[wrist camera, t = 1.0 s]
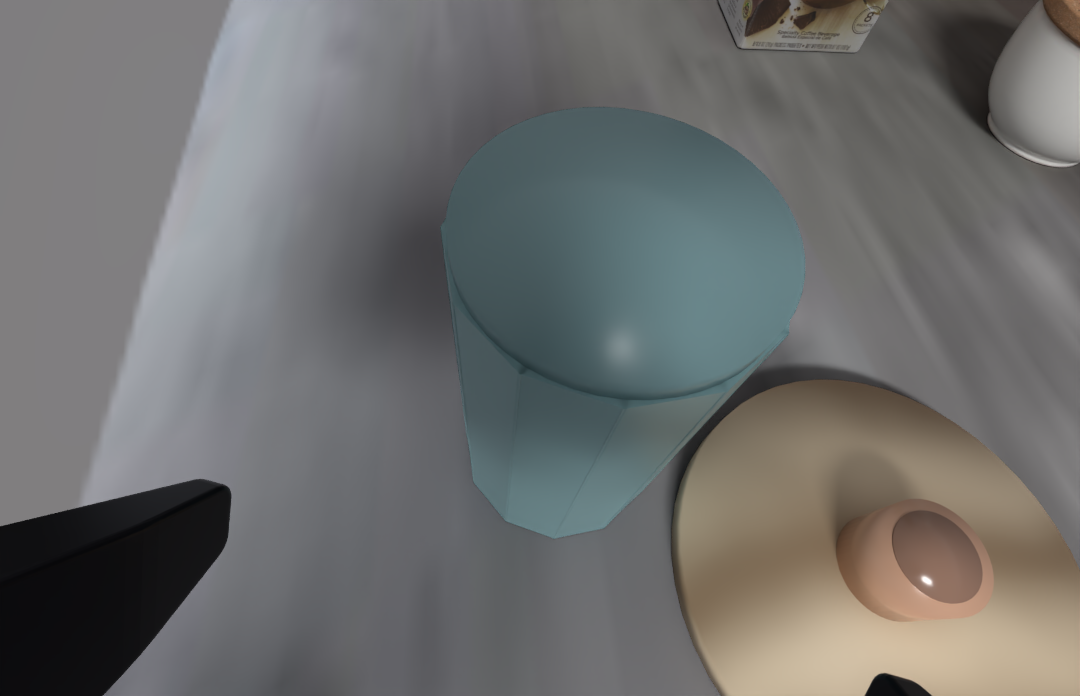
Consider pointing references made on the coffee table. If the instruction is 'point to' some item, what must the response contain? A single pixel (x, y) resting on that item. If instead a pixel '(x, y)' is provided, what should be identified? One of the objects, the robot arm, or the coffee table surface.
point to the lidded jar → (1040, 86)
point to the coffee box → (801, 23)
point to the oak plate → (811, 563)
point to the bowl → (915, 563)
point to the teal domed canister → (607, 303)
